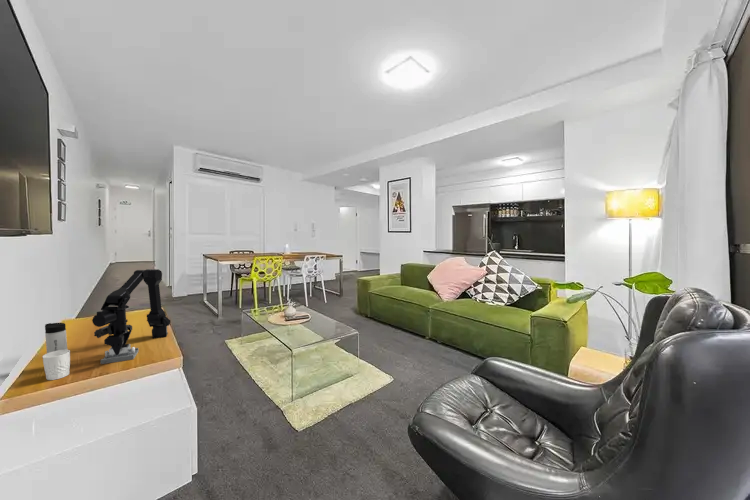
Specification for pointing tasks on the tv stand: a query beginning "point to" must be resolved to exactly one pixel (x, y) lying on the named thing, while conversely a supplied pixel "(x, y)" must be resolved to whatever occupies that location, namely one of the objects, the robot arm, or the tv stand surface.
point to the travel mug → (55, 337)
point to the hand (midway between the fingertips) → (120, 351)
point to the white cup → (57, 364)
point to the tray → (117, 359)
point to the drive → (120, 351)
